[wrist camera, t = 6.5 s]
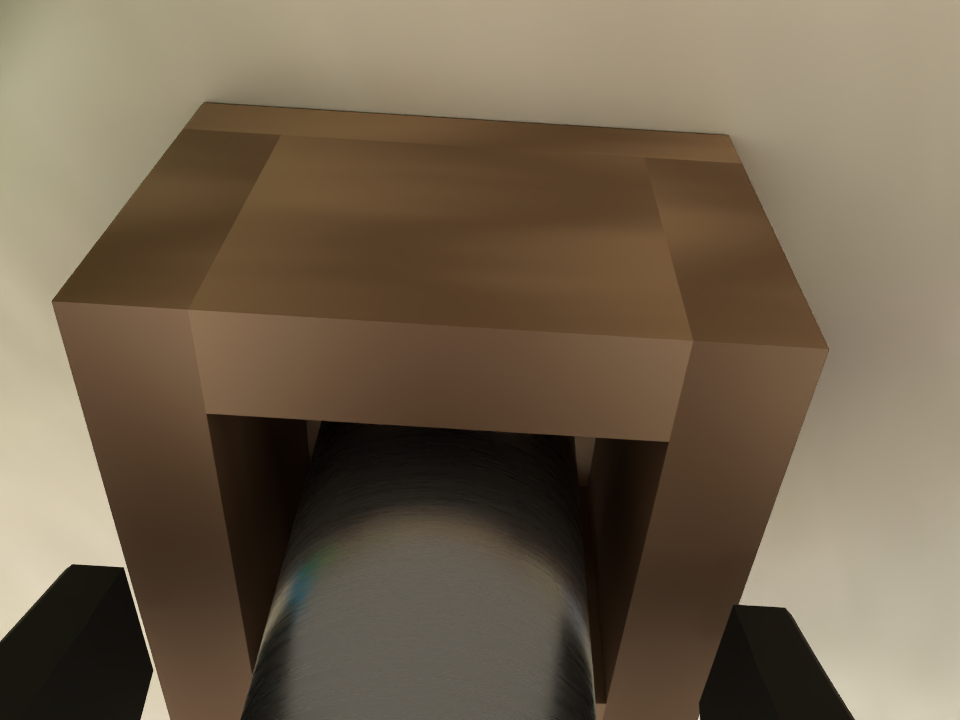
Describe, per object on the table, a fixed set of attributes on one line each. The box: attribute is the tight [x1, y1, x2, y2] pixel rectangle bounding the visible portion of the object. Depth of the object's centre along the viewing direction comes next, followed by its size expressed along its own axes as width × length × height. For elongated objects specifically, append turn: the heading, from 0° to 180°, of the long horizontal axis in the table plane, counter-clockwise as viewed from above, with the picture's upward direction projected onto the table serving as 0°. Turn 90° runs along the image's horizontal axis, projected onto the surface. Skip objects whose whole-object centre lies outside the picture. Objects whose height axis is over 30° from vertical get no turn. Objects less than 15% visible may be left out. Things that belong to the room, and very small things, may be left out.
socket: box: [52, 103, 829, 720], centre depth 14 cm, size 8×8×6 cm
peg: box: [241, 421, 597, 720], centre depth 12 cm, size 4×4×8 cm
